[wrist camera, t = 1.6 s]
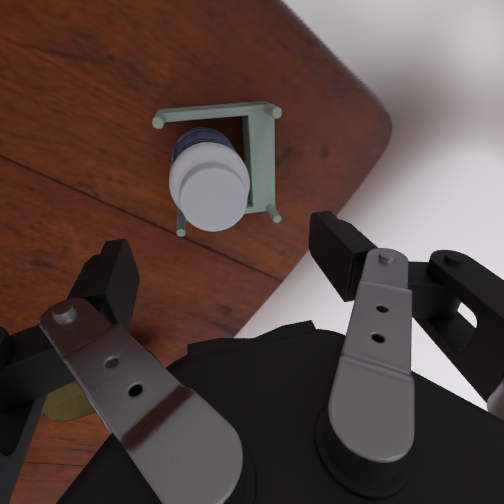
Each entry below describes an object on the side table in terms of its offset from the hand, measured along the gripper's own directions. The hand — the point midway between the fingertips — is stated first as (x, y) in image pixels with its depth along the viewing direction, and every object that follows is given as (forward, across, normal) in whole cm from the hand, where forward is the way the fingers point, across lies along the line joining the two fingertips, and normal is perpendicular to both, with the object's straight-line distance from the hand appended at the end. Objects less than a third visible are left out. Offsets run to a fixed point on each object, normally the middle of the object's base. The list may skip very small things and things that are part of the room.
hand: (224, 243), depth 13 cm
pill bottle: (+15, 0, 0) cm, 15 cm away
